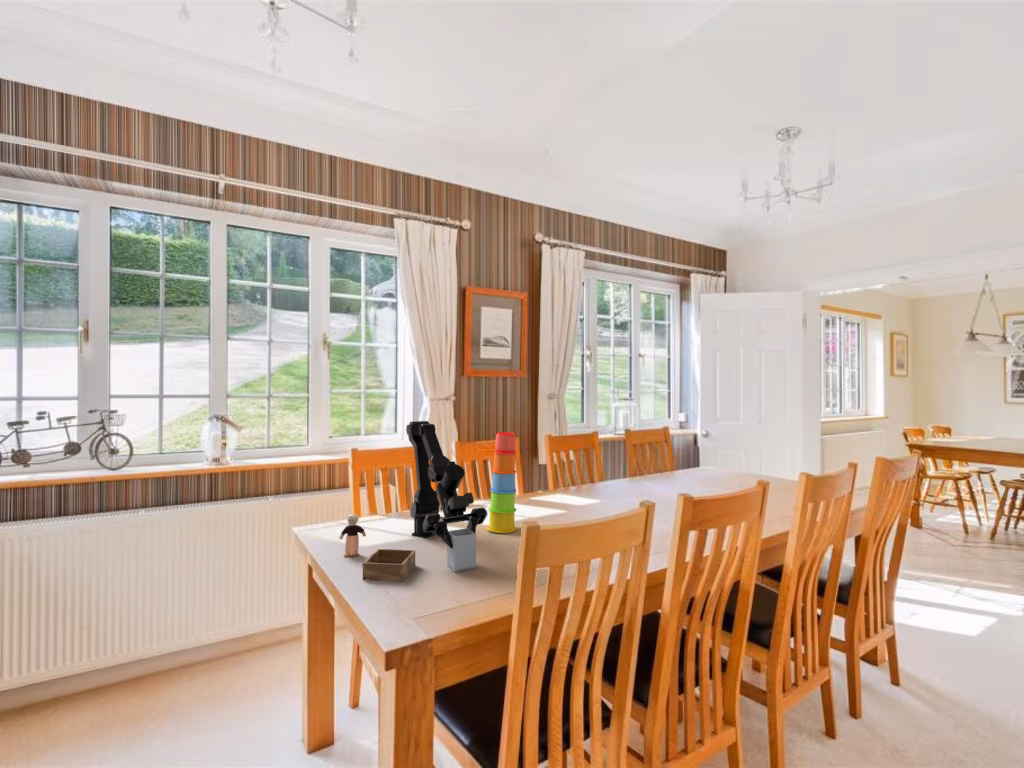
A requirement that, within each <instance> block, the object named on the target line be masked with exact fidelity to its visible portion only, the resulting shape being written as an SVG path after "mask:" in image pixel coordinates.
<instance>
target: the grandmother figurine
mask: <svg viewBox="0 0 1024 768" xmlns="http://www.w3.org/2000/svg"><path fill="white" fill-rule="evenodd" d="M346 520H347V523H348V525H347V526H345V527H344V529H342V531H341V534H340V535H339V537H338V538H339V540H343V539H344V537H345V535H346V537H345V544H344V545H345V546H344V548H345V550H344V552H345V553H344V554H343V558H349V557H350V556H352V557H358V556H360V553H359V543H360V542H359V534H358V533H360V534H361V535H362V537H364V538H365V537H366V536H367V533H366V532H365V529H364V528H363V527H362V526H360V525H358V524H357V523H358V521H359V517H358V515H356V514H355V513H351V514H348V515H347V519H346ZM357 555H358V556H357Z"/></svg>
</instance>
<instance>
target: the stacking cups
mask: <svg viewBox="0 0 1024 768" xmlns="http://www.w3.org/2000/svg"><path fill="white" fill-rule="evenodd" d="M494 447H495V448H494V451H493V453H494V455H493V456H494V458H493V469H491V472H492V482H491V483H492V484H491V488H490V492H491V495H490V507H488V511H489V525H488V526H487V531H489V532H491V533H496V534H509V533H510V534H511V533H514V532H515V531H516V530H517V527H516V526H515V512H516V511H517V508H515V503H516V502H515V499H516V498H515V495H516V492H517V489H516V488H515V487H516V486H515V485H516V484H515V483H516V473H517V470H516V454H517V452H516V434H515V433H514V432H509V431H508V432H507V431H499V432H498V431H497V434H495V446H494Z"/></svg>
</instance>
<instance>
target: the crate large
mask: <svg viewBox="0 0 1024 768" xmlns="http://www.w3.org/2000/svg"><path fill="white" fill-rule="evenodd" d="M415 567H416V549H415V550H414V549H393V548H377V549H376V550H375V551H374V552H373V553H371V555H370V556H369V557H368V558H366V559H365V560H364V561H363V562H362V580H363V579H370V580H369V581H380V580H388V581H387V582H400V581H403V580H404V579H406V578H407V577H408V576H409V575H410V574H411V572H412V571H413V570H412V569H414V568H415ZM408 574H409V575H408ZM407 575H408V576H407ZM389 580H390V581H389ZM404 581H405V580H404ZM404 581H403V582H404Z"/></svg>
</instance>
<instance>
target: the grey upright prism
mask: <svg viewBox="0 0 1024 768" xmlns="http://www.w3.org/2000/svg"><path fill="white" fill-rule="evenodd" d="M448 532H449V535H450V538H451V540H452V544H453V548H450V547H449V546H448V545H447V544H446V566H447V567H448V568H449V569H450V570H451V571H452V572H453V573H455V574H456V572H457V573H461V571H462V572H465V571H466V570H467V571H471V569H472V570H476V569H477V533H476V534H475V533H474V532H472V531H471V530H470V529H468V528H467V527H466V528H461V529H459V528H458V529H455V530H448Z"/></svg>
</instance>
